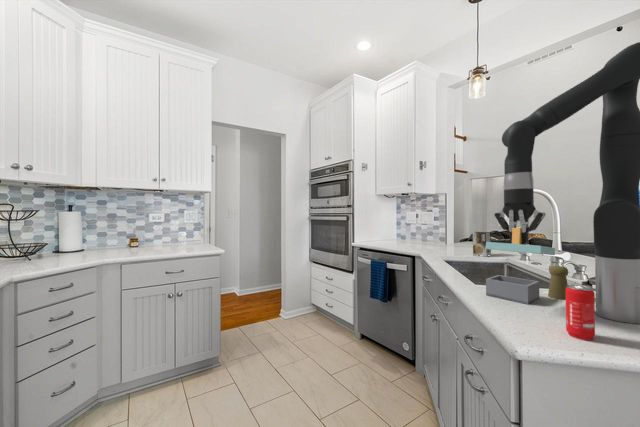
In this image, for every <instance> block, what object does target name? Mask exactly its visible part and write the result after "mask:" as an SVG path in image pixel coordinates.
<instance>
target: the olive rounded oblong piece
mask: <svg viewBox="0 0 640 427" xmlns="http://www.w3.org/2000/svg"><path fill="white" fill-rule="evenodd" d="M548 273H549V274H550V280H549V285H548V286H549V287H548V292H547V293H548V294H547V297H549V298H551V299H554V300H560V301H566V288H567V285H569V284H568V280H567V279H568V278H567V276H568V275H569V269H568V267H566V266H562V265H552V266H549V268H548Z"/></svg>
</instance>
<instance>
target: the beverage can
mask: <svg viewBox="0 0 640 427" xmlns="http://www.w3.org/2000/svg"><path fill="white" fill-rule="evenodd" d="M595 316H596V293H595V291H594V289H593V288H592V287H590V286H587V285H578V284H568V285H567V288H566V300H565V328H566V329H565V330H566V331H567V334H568V335H569V336H570V337H572V338H574V339H577V340H580V341H581V340H582V341H592V340H593V339H594V337H595V336H596V322H595V321H596V319H595V318H596V317H595Z"/></svg>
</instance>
